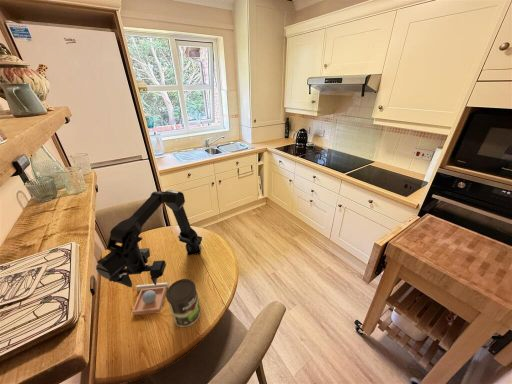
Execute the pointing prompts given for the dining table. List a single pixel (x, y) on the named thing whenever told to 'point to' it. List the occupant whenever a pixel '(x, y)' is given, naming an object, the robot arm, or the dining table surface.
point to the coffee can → (183, 302)
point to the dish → (152, 307)
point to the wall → (152, 286)
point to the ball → (149, 297)
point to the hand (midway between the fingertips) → (143, 285)
